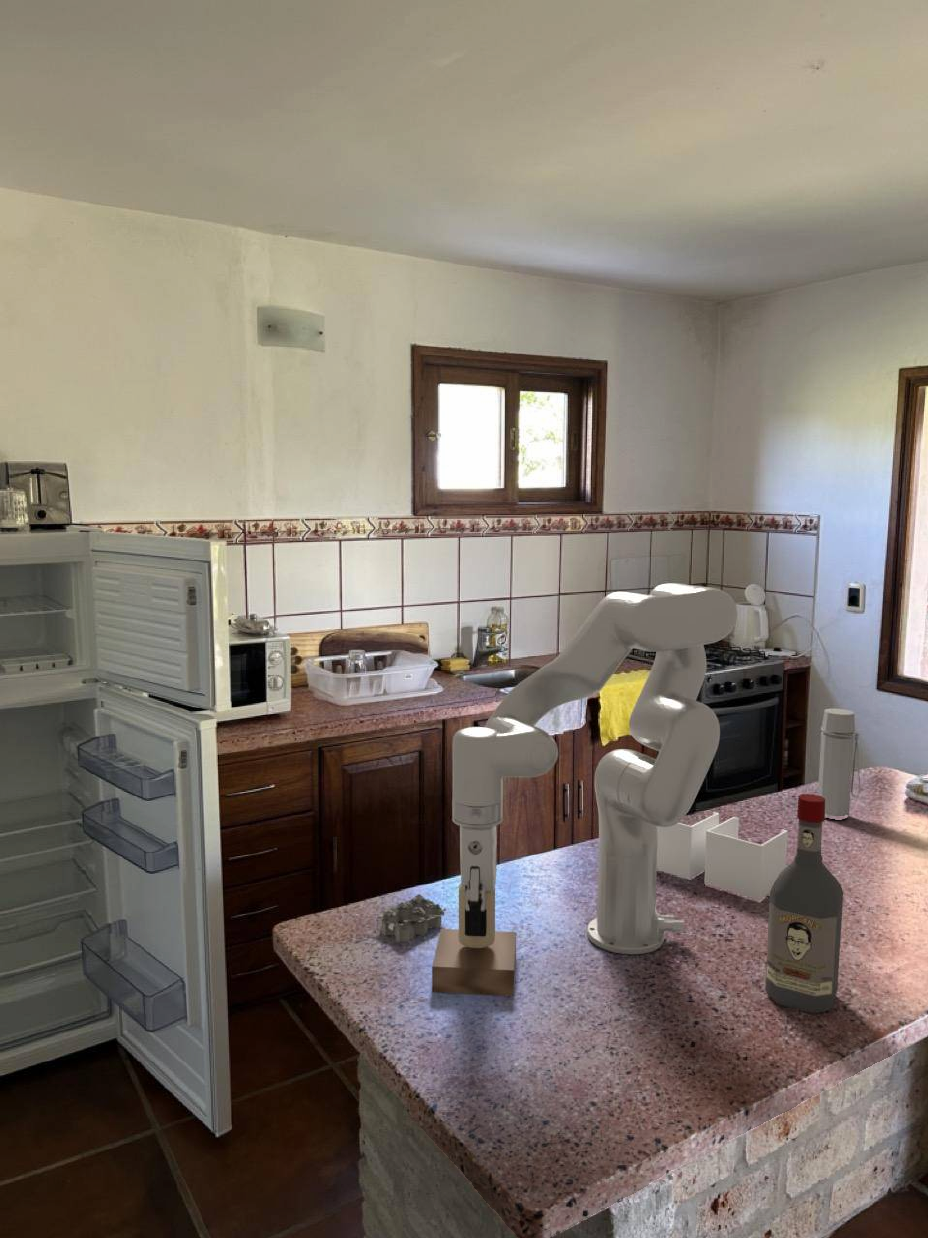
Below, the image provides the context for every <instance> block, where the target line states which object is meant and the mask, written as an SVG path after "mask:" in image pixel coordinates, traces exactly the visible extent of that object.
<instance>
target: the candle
mask: <svg viewBox="0 0 928 1238" xmlns="http://www.w3.org/2000/svg"><path fill="white" fill-rule="evenodd" d="M482 886H483V885H482ZM482 886H479V889H482ZM469 889H470V887H469ZM479 898H480V899H481V894H479ZM465 909H466V892H464V891H463V890H462V886H461V883H459V885H458V930H459V941H460V943H461V944H462V945H464V946H467V947H470V948H484V947H487V946H490V945H491V944H493V943H494V940H495V931H496V889H495V890H494V891H493V892H492V893H490V892H486V891H485V909H487V933H486V936H484V937H482V936H466V935H465Z"/></svg>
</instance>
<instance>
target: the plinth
mask: <svg viewBox="0 0 928 1238" xmlns="http://www.w3.org/2000/svg"><path fill="white" fill-rule="evenodd" d="M516 956H517V931H502V930H501V931H499V930H497V931H496V930H495V940H494V943H493V944H491V945H490V946H487V947H484V948H470V947H467V946H464V945H462V944H461V943H460V941H459V929H457V928H456V929H455V928H454V929H452V928H440V932H439V935H438V940H437V945H436V950H435V953H434V956H433V957H434V958H433V961H432V966H431V972H432V973H431V983H432V984H431V990H432V991H431V992H432V993H437V994H438V993H439V994H440V993H442V994H460V995H461V994H463V995H483V996H502V997H504V996H505V997H515V979H516V975H515V974H516V960H517V957H516Z"/></svg>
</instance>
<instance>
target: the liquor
mask: <svg viewBox="0 0 928 1238" xmlns="http://www.w3.org/2000/svg"><path fill="white" fill-rule="evenodd" d="M796 815H797V816H796V817H797V819H798V827H797V828H798V829H797V842H796V853H795V856H794V857H793V858H794V860H792V862H791V863H789V864H788V865H786V868H785V869H784V870H783V871H782V872H781V873H780V874H779V876H778V877H777V879H776V881H775V882H774V884H773V886H772V888H771V891H770V896H769V902H768V903H769V906H768V907H769V909H768V925H767V926H768V927H767V929H768V930H767V946H766V948H767V949H766V968H765V988H764V989H765V991H766V994H767V996H768V997H769V998H770V999H772V1001H774V1002H775V1003H776V1005H778V1004H780V1005H779V1006H782V1005H784V1006H783V1007H785V1006H786V1007H787V1008H789V1007H790V1009H793V1008H794V1010H796V1009H797V1010H798V1011H800V1010H801V1011H800V1012H804V1011H805V1012H804V1013H807V1012H809V1014H811V1013H813V1014H812V1015H815V1014H814V1013H817V1014H820V1013H819V1012H824V1013H826V1012H825V1011H829V1012H830V1010H831V1009H832V1007H833V1004H834V1001H835V998H836V996H837V993H838V989H839V988H838V987H839V986H838V985H839V974H840V973H839V971H840V953H841V938H842V937H841V936H842V919H843V906H844V905H843V902H844V891H843V888H842V887H843V886H842V885H841V883H840V882H839V881H838V879H837V878H836V877H835V876H834V874H833V873H832V872H831V871H830V870H829V869H828V868H827V866H826V865H825V864H824V863H823V856H822V839H823V837H822V836H823V835H822V834H823V822H825V820H826V819H825V798H823V797H821V796H818V794H812V793H803V794H799V795H798V797H797V814H796ZM786 1007H785V1008H786Z"/></svg>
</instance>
